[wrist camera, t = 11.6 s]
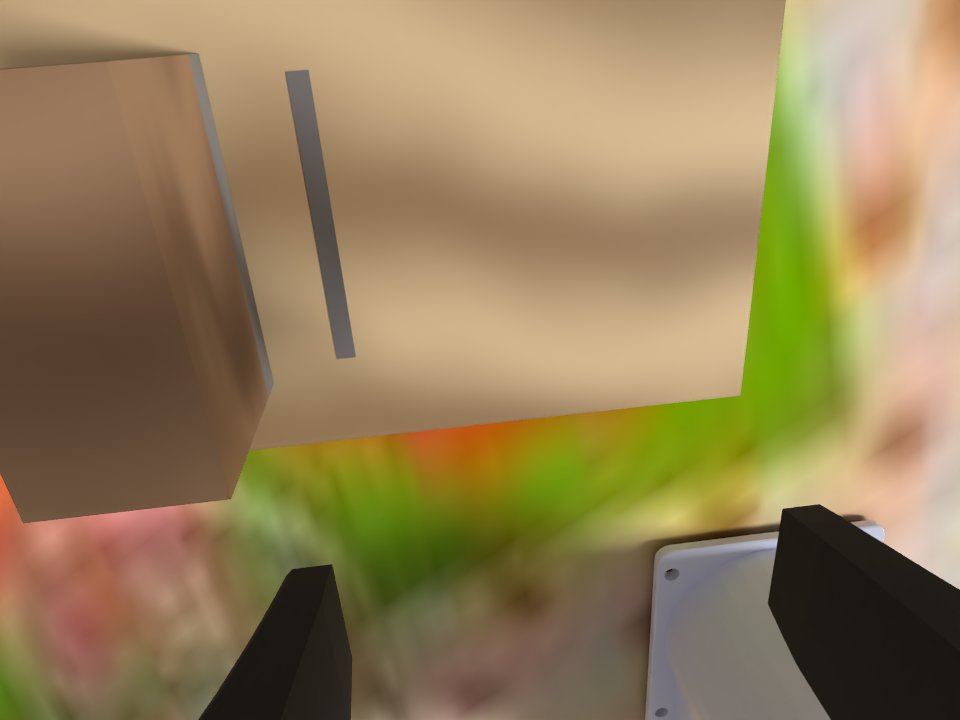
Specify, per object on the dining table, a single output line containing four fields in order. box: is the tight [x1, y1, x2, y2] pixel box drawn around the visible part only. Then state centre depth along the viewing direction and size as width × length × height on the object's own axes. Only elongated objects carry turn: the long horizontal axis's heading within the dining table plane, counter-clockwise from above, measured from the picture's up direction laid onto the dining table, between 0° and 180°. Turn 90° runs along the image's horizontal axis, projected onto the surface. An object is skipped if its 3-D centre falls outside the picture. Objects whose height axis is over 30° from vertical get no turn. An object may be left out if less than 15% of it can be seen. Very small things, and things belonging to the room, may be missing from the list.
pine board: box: [0, 0, 786, 450], centre depth 17 cm, size 12×20×1 cm, turn 94°
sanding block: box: [0, 53, 274, 523], centre depth 14 cm, size 8×4×5 cm, turn 4°
